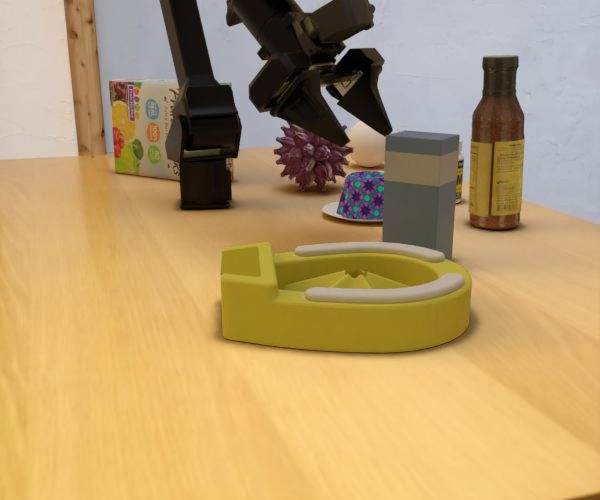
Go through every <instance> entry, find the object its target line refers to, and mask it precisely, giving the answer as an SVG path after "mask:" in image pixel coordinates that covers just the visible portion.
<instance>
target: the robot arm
mask: <svg viewBox="0 0 600 500" xmlns="http://www.w3.org/2000/svg"><path fill="white" fill-rule="evenodd" d="M159 4H160V10H161V14H162V18H163V23H164V27H165V31H166V36H167V40H168V45H169V49H170V53H171V54H170V55H171V59H172V62H173V63H172V64H173V66H174V71H175V75H176V79H177V80H178V85H179V93H178V96H177V99H176V102H175V104H174V107H173V110H172V115H173V120H172V123H171V126H170V129H169V132H168V135H167V138H166V141H165V148H166V154H167V159H169V160H171V161H174V162H176V163H179V176H180V180H179V193H180V200H179V209H182V210H183V209H184V210H188V209H190V210H191V209H223V208H226V209H227V208H229V207H230V202H232V200H233V194H232V193H233V192H232V191H233V190H232V181H231V169H230V168H229V167H226V159H228V158H233V160H234V159H235V160H236V159H238V158H239V153H240V146H241V137H242V131H243V124H242V120H241V117H240V115H239V111H238V108H237V106H236V102H235V97H234V91H233V88H232V89H231V87H230V86H229V85H228V84H227V85H221V84H220V83H219V82H220V81H218V80H217V79H216V78H215V77H216V76H215V75H214V70H213V66H212V60H211V57H210V53H209V49H208V44H207V40H206V39H207V38H206V36H205V31H204V27H203V23H202V17H201V14H200V10H199V5H198V1H197V0H159ZM375 12H376V6H375V5H374V4H373V3H371V2H370V1H369V0H331V1H329V2H327V3H325V4H323V5H322V6H320V7H319V8H317V9H316V10H313V11H312V12H304V10H303V9H302V8H301V6H300V4H298V3H297V1H296V0H226V13H225V20H226V21H225V22H226V25H227V27H229V28H230V27H233V26H236V25H240V24H243V25H244V26H245V28H246V29H247V30H248V32H249V33H250V35H251V36H252V37H253V38H254V39H255V41H256V42H257V43H258V45H259V46H260V48H259V50H258V51H256V55H257V56H258V57H259V58H260V60H261V61H266V62H265V63H264V64H263V66H262V67H261V69H260V70H259V71H258V72H257V73H256V74H255V76H254V77H253V79H252V80H251V81H250V82H249V84H248V100H249V101H250V102H251V104H252V105H253V106H254V107H255V109H256V111H258V113H259V114H261V113H268V115H270V116H271V117H272V118H278V119H281V120H283V121H285V122H286V123H287V122H290V123H292V124H294V125H296V126H298V127H301V128H303V129H305V130H307V131H309V132H311V133H313V134H315V135H317V136H319V137H321V138H323V139H325V140H327V141H329V142H331V143H333V144H335V145H337V146H339V147H341V148H342V147H345V146H346V145H347V143H348V142H349V138H348V133H347V132H346V130H345V131H344V129H343V127H342V126H343V125H342V124H341V122H340V121H339V119H338V118H337V115H335V113H334V111H333V110H332V109H331V107H330V105H329V104H328V102H327V99H325V97H324V96H323V94H322V89H321V88H324V87H325V90H326V91H327V93H328V94H329V95H330V96H331V97H332V98H334V99H335V100H337V102H336V105H337V106H339V107H340V108H342V109H343V110H344V111H346V112H347V113H349V114H350V115H352V116H353V117H355V118H356V119H358V120H359V122H360V121H362V122H363V123H365V124H366V125H368V126H369V127H370V128H372V129H373V130H375V131H376V132H378V133H380V134H381V135H383V136H384V137H386V135H389V134H390V133H393V130H394V129H393V126H392V123H391V121H390V117H389V115H388V113H387V110H386V107H385V104H384V102H383V101H382V97H381V93H380V91H379V87H378V82H379V79H380V75H381V73H382V72H383V66H384V65H385V62H386V61H385V58H384V57H383V56H382V55H381V53H380V52H379V51H378V49H376V47H355V48H349V49H348V50H347V52H346V53H344V55H343V56H342V57H341V59H340V60H338V62H337V59H336V57H337V56H338V55H339V56H340V55H341V54H342V53H343V52H344V50H345V49H346V48H347V45H346V44H345V43H344V41H346V40H349V39H350V38H352V37H354V36H355V35H357V34H359V33H361V32H363V31H365V32H366V31H369V30H370V29H372V28H373V27H375V23H374V22H375V21H374V17H375V16H374V13H375ZM184 149H185V150H186V151H188V152H184ZM213 149H218V150H213ZM201 150H205V151H201ZM189 151H193V152H189Z"/></svg>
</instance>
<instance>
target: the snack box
mask: <svg viewBox="0 0 600 500" xmlns="http://www.w3.org/2000/svg"><path fill="white" fill-rule="evenodd" d="M218 82H219V83H220V84H221V85H227V84H228V85H229V86H230V87H231V89H232V90H233V83H232V81H218ZM108 90H109V102H110V115H111V128H112V129H111V130H112V143H113V156H114V171H115V173H118V174H125V175H135V176H142V177H148V178H158V179H164V180H165V179H166V180H172V181H173V180H174V181H180V176H179V163H176V162H174V161H171V160H169V159H167V154H166V148H165V141H166V138H167V135H168V132H169V129H170V126H171V123H172V120H173V115H172V110H173V107H174V104H175V102H176V99H177V96H178V93H179V85H178V80H177V78H176V79H175V78H174V79H173V78H116V79H115V78H114V79H109V81H108ZM213 150H218V149H213ZM201 151H205V150H201ZM184 152H188V151H186V150H185V149H184ZM189 152H193V151H189ZM226 167H229V168H230V169H231V182H232V181H234V179H235V176H234V159H233V158H228V159H226Z"/></svg>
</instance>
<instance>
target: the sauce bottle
mask: <svg viewBox="0 0 600 500" xmlns="http://www.w3.org/2000/svg"><path fill="white" fill-rule="evenodd" d="M519 58H520V57H519V55H517V54H501V55H499V54H497V55H494V54H493V55H484V56H482V62H481V68H482V70H483V81H482V90H481V94H482V95H481V96H482V97H481V99H480V101H479V102H478V104H476V105H477V106H476V107H475V108H474V110H473V112H472V116H471V117H472V118H471V138H470V149H469V150H470V151H469V154H470V155H469V186H468V190H469V191H468V214H469V222H470V224H471V225H472V226H474V227H476V228H482V229H486V230H508V229H513V228H515V227H517V226H518V225H520V222H521V212H522V202H523V199H522V198H523V182H524V181H523V178H524V161H525V160H524V159H525V140H526V139H525V113H524V111H523V109H522V106H521V105H520V102H519V99H518V96H517V88H516V87H517V73H518V72H517V71H518V69H519V65H520V64H519V62H520V60H519Z"/></svg>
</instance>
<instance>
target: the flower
mask: <svg viewBox="0 0 600 500" xmlns="http://www.w3.org/2000/svg"><path fill="white" fill-rule="evenodd" d="M286 124H288V127H287V126H285V124H284V125H282V126H280V130H281V131H282V132H283V134H284V136H281V137H280V136H276V138H275V142H277V143H279V144H280V145H281V146H280V147H278V148H273V149H272V150H273V155H276V156H279V158H278V159H276V160H275V164H276V165H277V166H279V165H282V166H284V168H283V170H282V171H281V172H280V173H279V175H280V178H282V179H283V178H285V177H286V176H288V180H289V181H292V180H293V179H294V178H295V180H294V182H295V184H298V191H302V192H305V189H306V187H307V188H311V186H312V184H313V182H314V183H315V184H316V187H318V188H320V190H321V191H322V192H326V190H327V187H326V186H327V185H326V184H327V183H329V182H332V183H333V184H337V183H338V180H337V179H336V177H341V178H343V179H346V177H347V176H348V173H347V172H346V171H345V170H344V167H343V166H347V167H348V166H349V165H350V162H351V161H350V160H349V159H347V156H349V154H350V153H353V152H354V149H353V148H354V147H349V146H347V145H346V146H345V147H342V148H341V147H339V146H337V145H335V144H333V143H331V142H329V141H327V140H325V139H323V138H321V137H319V136H317V135H315V134H313V133H311V132H309V131H307V130H305V129H303V128H301V127H298V126H296V125H294V124H292V123H290V122H287V121H286ZM341 126H342V127H343V129H344V131H345V132H346V130H347V129H348V125H346V124H344V125H341ZM349 142H351V141H350V138H349ZM349 142H348V143H349Z"/></svg>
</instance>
